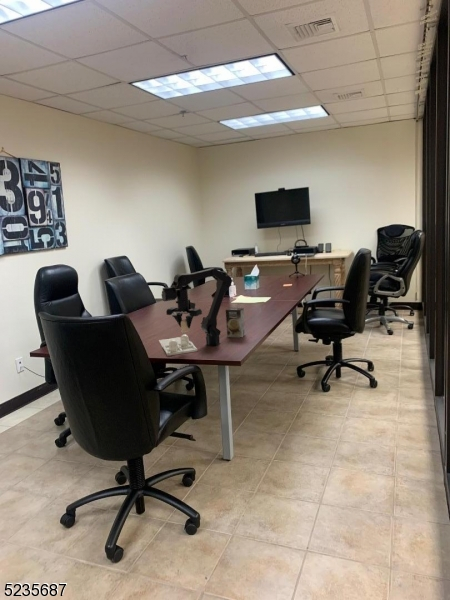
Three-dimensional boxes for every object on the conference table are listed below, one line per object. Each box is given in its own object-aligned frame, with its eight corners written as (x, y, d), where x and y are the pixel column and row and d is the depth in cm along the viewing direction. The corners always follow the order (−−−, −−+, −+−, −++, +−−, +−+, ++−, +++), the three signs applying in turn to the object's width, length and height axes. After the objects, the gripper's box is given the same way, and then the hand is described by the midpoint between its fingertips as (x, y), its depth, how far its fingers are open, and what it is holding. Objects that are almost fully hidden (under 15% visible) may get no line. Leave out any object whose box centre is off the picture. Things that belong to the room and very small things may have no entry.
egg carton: (197, 352, 233) (197, 349, 232) (167, 356, 228) (167, 353, 228) (185, 337, 262) (185, 334, 262) (158, 341, 258) (158, 338, 258)
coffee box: (226, 337, 256) (224, 309, 253) (230, 334, 262) (228, 307, 259) (242, 337, 253) (240, 309, 250) (245, 334, 259) (243, 307, 256)
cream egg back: (190, 345, 243) (189, 333, 242) (185, 347, 239) (184, 336, 238) (184, 344, 245) (183, 333, 244) (179, 347, 242) (178, 335, 240)
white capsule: (180, 351, 234) (178, 339, 233) (174, 353, 230) (173, 341, 229) (173, 350, 236) (172, 338, 235) (168, 352, 233) (166, 340, 232)
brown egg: (191, 330, 234) (190, 318, 233) (186, 333, 231) (185, 320, 229) (184, 330, 237) (183, 318, 235) (179, 332, 233) (178, 320, 232)
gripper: (206, 295, 233) (208, 325, 236) (176, 295, 242) (179, 323, 245) (194, 300, 223) (197, 330, 226) (164, 299, 232) (167, 328, 235)
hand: (185, 327), depth 233 cm, fingers closed on brown egg, 4 cm apart
